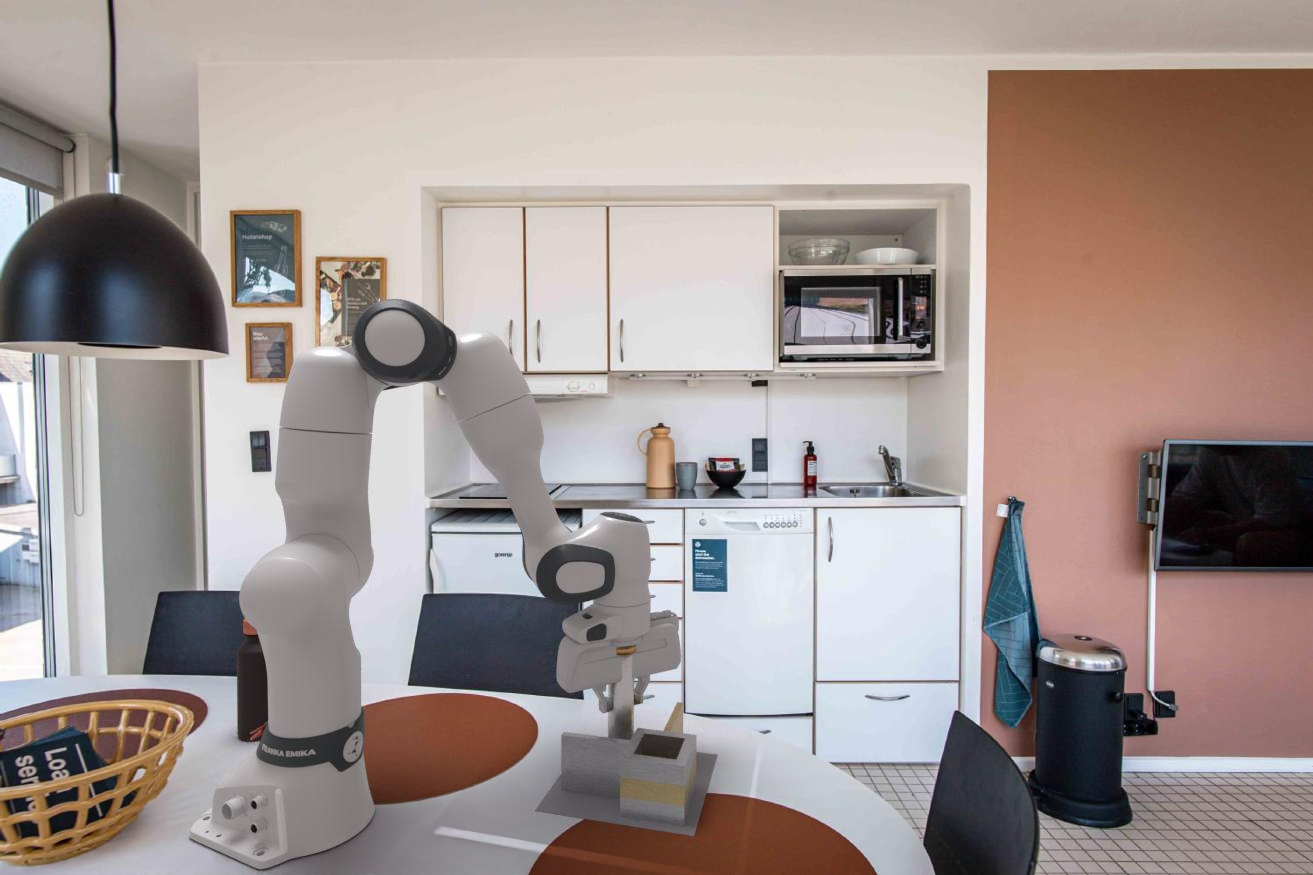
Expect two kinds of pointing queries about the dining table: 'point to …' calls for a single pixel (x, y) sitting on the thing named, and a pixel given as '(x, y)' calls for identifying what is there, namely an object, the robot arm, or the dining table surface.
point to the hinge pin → (622, 699)
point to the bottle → (251, 685)
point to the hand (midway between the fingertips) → (621, 707)
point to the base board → (610, 807)
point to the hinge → (636, 770)
